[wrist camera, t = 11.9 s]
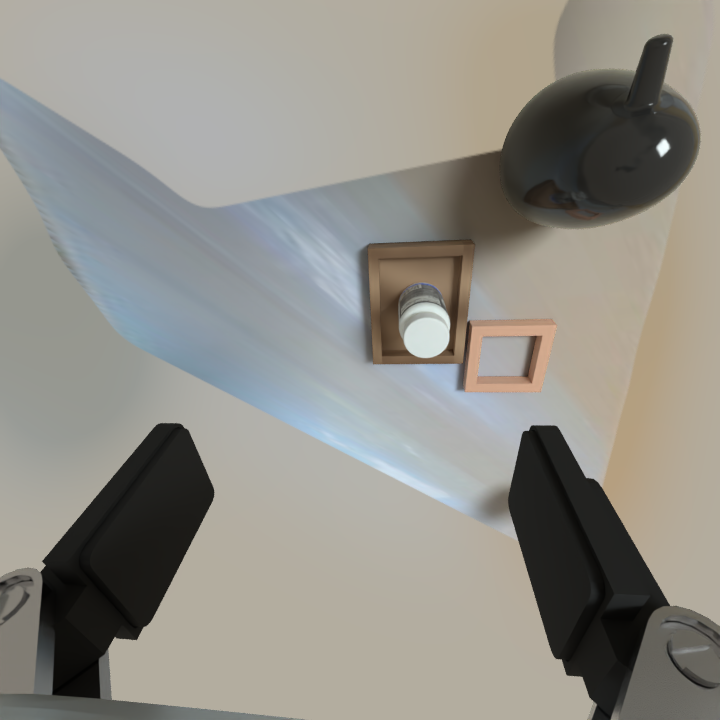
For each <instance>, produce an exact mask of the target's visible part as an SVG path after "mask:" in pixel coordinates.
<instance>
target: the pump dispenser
mask: <svg viewBox="0 0 720 720" xmlns="http://www.w3.org/2000/svg"><path fill="white" fill-rule="evenodd" d="M672 43H673V37H672V36H671V35H669V34H660V35H657V36H654V37H652V38H651V39H649V40H648V41H647V42H646V44H645V46H644V49H643V52H642V55H641V58H640V61H639V64H638V67H637V70H636V71H632V70H626V69H593V70H586V71H582V72H578V73H574V74H571V75H569V76H566V77H564V78H561V79H559V80H557V81H555V82H554V83H552V84H550V85H549V86H547V87H546V88H544V89H543V90H542V91H540V92H539V93H538V94H537V95H535V96H534V97H533V98H532V99H531V100H530V101H529V102H528V103H527V104H526V106H525V107H524V108H523V109H522V110H521V112H520V113H519V115H518V116H517V117H516V119H515V120H514V122H513V124H512V126H511V128H510V129H509V132H508V134H507V136H506V139H505V142H504V145H503V148H502V152H501V158H500V180H501V185H502V189H503V192H504V194H505V197H506V199H507V200H508V202H509V204H510V205H511V206H512V207H513V209H514V210H515V211H516V212H517V213H519V214H520V215H521V216H523V217H524V218H526V219H528V220H530V221H532V222H534V223H537V224H540V225H543V226H548V227H553V228H561V229H588V228H595V227H601V226H605V225H609V224H613V223H616V222H619V221H623V220H625V219H628V218H631V217H633V216H635V215H638V214H640V213H642V212H644V211H646V210H648V209H650V208H652V207H653V206H655V205H656V204H658V203H660V202H661V201H662V200H664V199H665V198H666V197H668V196H669V195H670V194H671V193H672V192H674V191H675V190H676V189H677V188H678V187H679V186H680V184H681V183H682V182H683V181H684V180H685V178H686V177H687V176H688V174H689V173H690V171H691V169H692V168H693V165H694V164H695V161H696V159H697V156H698V153H699V149H700V143H701V131H700V125H699V121H698V118H697V115H696V113H695V111H694V109H693V108H692V106H691V105H690V103H689V102H688V101H687V100H686V99H685V98H684V97H683V96H682V95H681V94H680V93H679V92H678V91H676V90H675V89H674V88H672V87H671V86H669V85H668V84H666V83H664V79H665V74H666V70H667V65H668V61H669V57H670V52H671V48H672Z"/></svg>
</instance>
